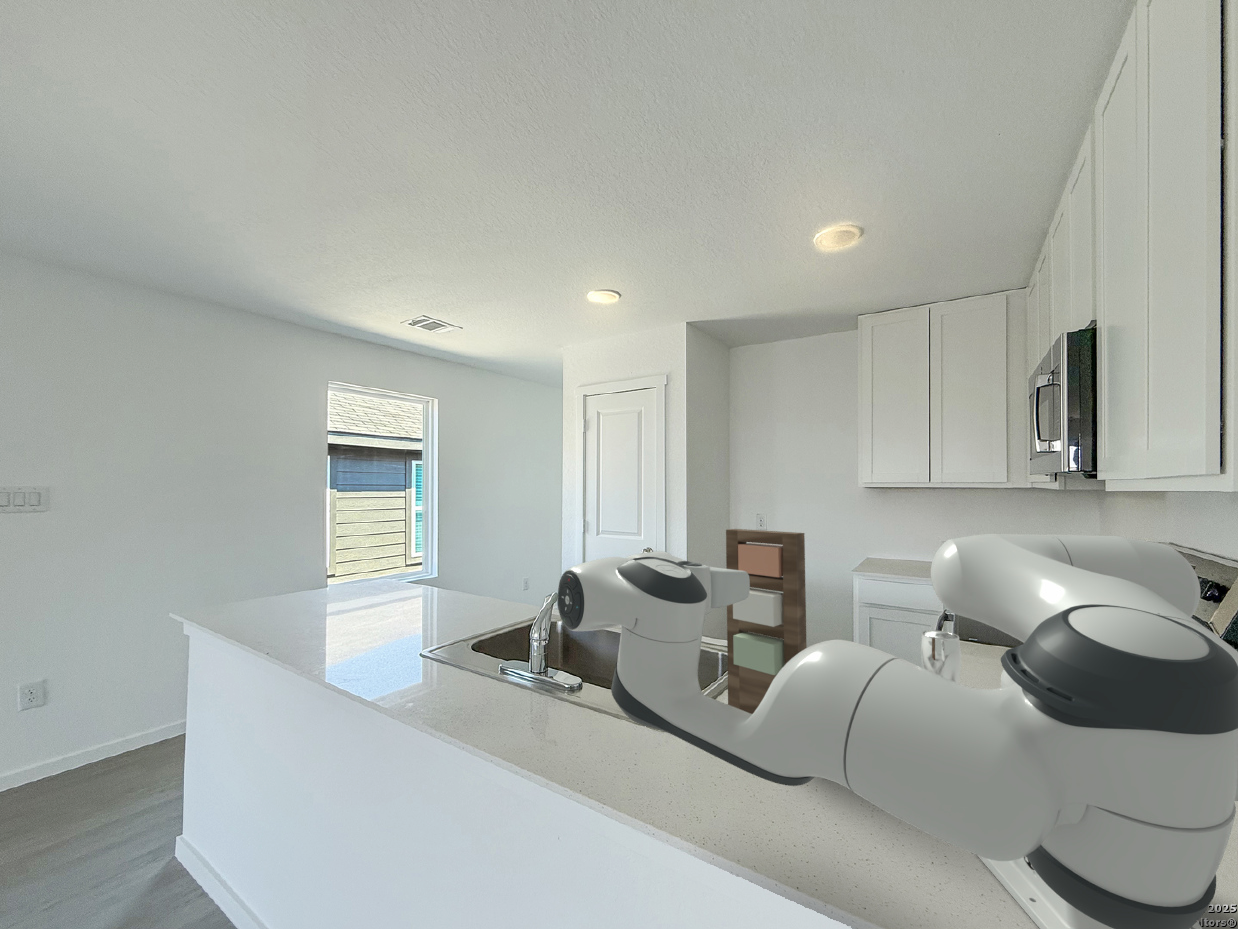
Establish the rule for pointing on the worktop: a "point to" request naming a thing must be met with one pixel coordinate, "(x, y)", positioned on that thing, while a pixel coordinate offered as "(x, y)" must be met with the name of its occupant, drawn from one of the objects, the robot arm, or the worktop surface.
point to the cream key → (761, 608)
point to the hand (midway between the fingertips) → (713, 572)
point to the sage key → (758, 652)
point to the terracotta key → (761, 559)
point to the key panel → (747, 682)
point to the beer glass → (941, 654)
